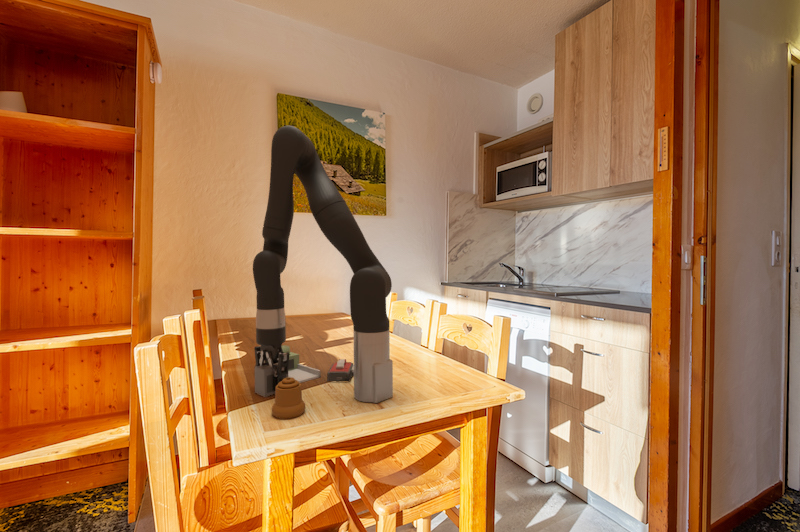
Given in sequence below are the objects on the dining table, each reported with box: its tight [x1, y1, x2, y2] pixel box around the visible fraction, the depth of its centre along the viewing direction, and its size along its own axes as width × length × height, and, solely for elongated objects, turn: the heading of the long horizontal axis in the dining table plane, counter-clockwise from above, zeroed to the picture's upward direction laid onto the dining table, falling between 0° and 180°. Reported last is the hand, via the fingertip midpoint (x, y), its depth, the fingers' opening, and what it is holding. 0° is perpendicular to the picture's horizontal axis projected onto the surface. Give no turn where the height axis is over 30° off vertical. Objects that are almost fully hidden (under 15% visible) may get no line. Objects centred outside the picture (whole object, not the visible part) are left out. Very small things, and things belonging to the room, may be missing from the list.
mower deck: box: [254, 344, 322, 384], centre depth 118 cm, size 19×12×7 cm, turn 48°
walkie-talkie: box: [326, 358, 354, 382], centre depth 120 cm, size 9×4×20 cm
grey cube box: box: [254, 363, 288, 398], centre depth 103 cm, size 5×7×7 cm
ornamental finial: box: [271, 377, 306, 420], centre depth 89 cm, size 8×8×8 cm
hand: (271, 387), depth 103 cm, fingers open, 5 cm apart
